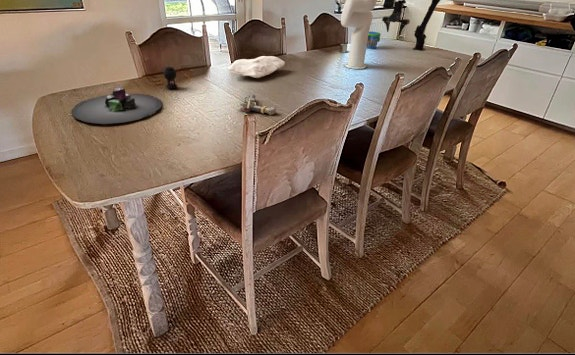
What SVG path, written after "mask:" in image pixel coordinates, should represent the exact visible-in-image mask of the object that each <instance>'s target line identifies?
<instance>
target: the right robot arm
mask: <svg viewBox="0 0 575 355" xmlns="http://www.w3.org/2000/svg"><path fill="white" fill-rule="evenodd" d="M440 2H441V0H431V3H430V5H429V7H428V9H427V11H426V13H425V15H424V18H423V19H422V21H421V23H420V25H419V24H418V25H417V26H416V28H415V30H414V34H413V35H414V37H415V39H416V40H415V46H414V47H413V49H412V50H417V51H424V50H425V48H424V47H425V42H426V39H427V35H426V34H425V32H426V29H427V26H428V23H429V22H430V20H431V18H432V16H433V13H434V12H435V10H436V8H437V6H438V4H439V3H440ZM404 4H407V1H406V0H384V1H383V5H382V8H383V9H385V10H386V9H387V10H392V9H393V11H391V14H390V15H389V16H383V17H382V19H381V21H382V22H383V23H384V24H385V27H386V32H387V33H389V31H390V26H391V23H401V24H400V27H399V31H398V35H400V34H401V33H402V31H403V30H404V28H405V27H406V26H407V25H409V24H410V22H411V20H410V19H409V18H403V19H402V13H403V6H404Z"/></svg>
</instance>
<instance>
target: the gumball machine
mask: <svg viewBox="0 0 575 355" xmlns="http://www.w3.org/2000/svg"><path fill="white" fill-rule="evenodd" d="M176 69H177V67H176V66H174V67H173V66H166V67H165V68H164V67H162V68H161V70H162V71H163V76H162V78H165V79H166V80H167V81H166V84H165V86H164V87H165V88H167V89H168V90H174V89H176V88H177V89H179V85H178V84H176V83H177V82H178V78H177V71H176Z"/></svg>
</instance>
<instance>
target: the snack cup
mask: <svg viewBox="0 0 575 355" xmlns="http://www.w3.org/2000/svg"><path fill="white" fill-rule="evenodd" d="M380 40H381V32H378V31H369V34H368V40H367V47H366V49H376V48H377V45H378V43H379V42H380Z"/></svg>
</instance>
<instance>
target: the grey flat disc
mask: <svg viewBox="0 0 575 355" xmlns="http://www.w3.org/2000/svg"><path fill="white" fill-rule="evenodd" d="M158 98H159V97H158ZM158 98H157V97H154V96H153V95H149V94H142V93H127V92H126V89H125V88H122V87H120V86H116V87H115V88H114V89H113V90H112V94H106V95H101V96H98V97H92V98H89V99H86V100H83V101H80V102H79V103H77V104H76V105H74V106H73V108H72V109H71V110H70V111H71V117H72V118H74V119H77V120H79V121H82V122H85V123H91V124H97V125H99V124H100V125H113V124H120V123H121V124H122V123H123V124H124V123H129V122H133V121H138V120H141V119H145V118H148V117H150V116H153V115H154V114H157V112H159V111H161V109H162V107H163V104H162V100H160V99H158Z"/></svg>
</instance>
